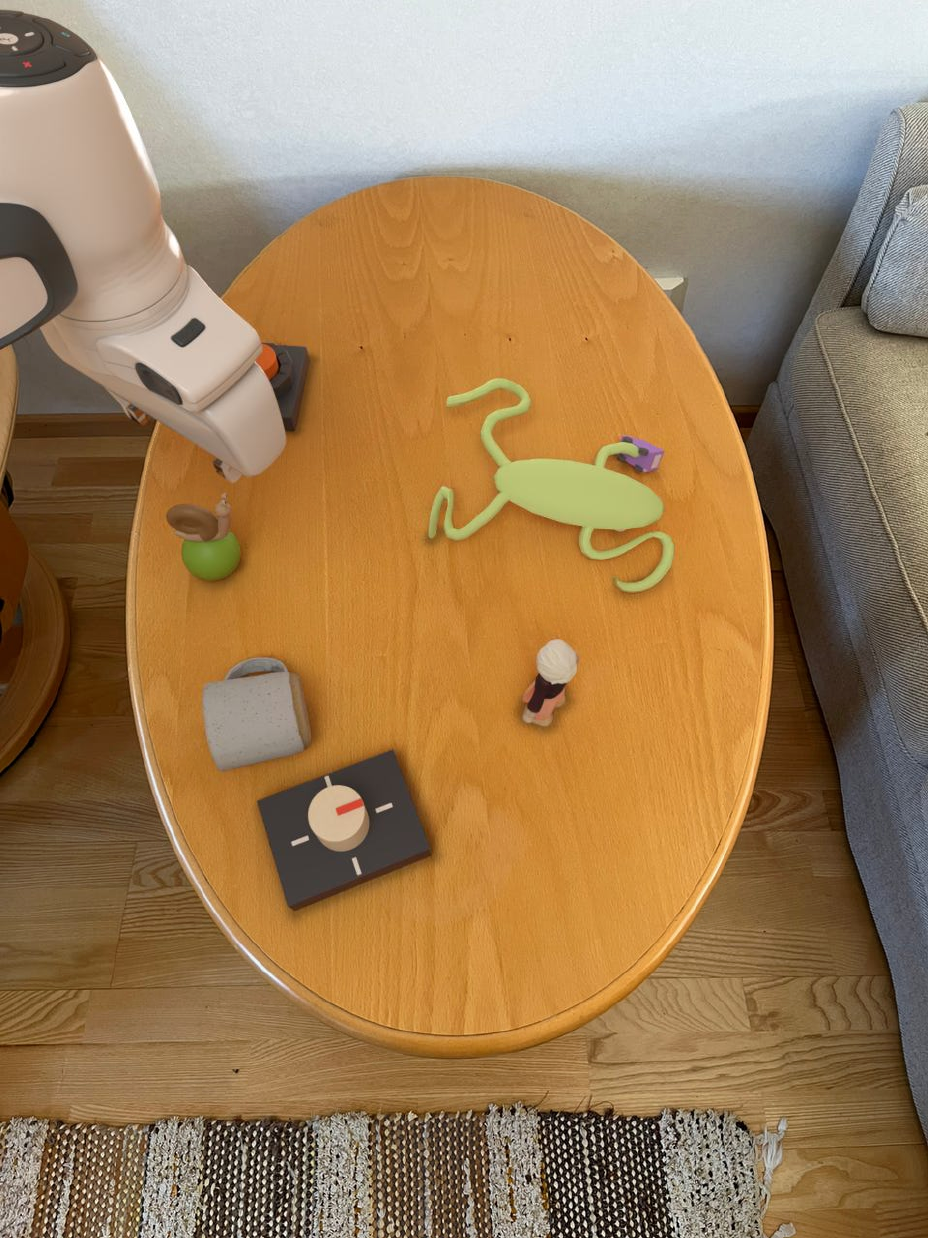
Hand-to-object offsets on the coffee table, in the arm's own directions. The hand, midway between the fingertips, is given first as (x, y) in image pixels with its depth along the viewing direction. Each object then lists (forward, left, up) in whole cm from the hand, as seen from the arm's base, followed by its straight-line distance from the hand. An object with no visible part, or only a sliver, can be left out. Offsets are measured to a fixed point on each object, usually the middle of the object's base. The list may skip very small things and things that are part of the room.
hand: (187, 444), depth 65 cm
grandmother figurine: (+21, -24, -20) cm, 38 cm away
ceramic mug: (-3, -16, -20) cm, 25 cm away
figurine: (+31, -3, -20) cm, 37 cm away
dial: (+1, -28, -16) cm, 33 cm away
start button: (+8, +21, -16) cm, 27 cm away
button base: (+8, +21, -19) cm, 30 cm away
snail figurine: (-2, +1, -20) cm, 20 cm away
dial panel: (+1, -28, -19) cm, 34 cm away
